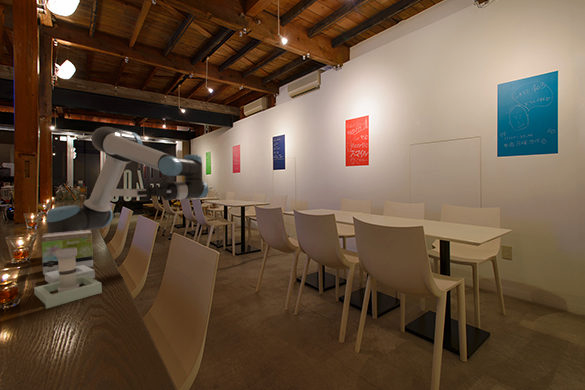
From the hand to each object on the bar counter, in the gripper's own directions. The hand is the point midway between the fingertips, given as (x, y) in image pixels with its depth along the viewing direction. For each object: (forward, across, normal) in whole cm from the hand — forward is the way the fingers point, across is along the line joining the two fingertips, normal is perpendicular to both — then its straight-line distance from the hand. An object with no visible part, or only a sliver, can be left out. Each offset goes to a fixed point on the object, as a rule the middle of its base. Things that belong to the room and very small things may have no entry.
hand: (118, 193), depth 100 cm
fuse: (+18, -7, -29) cm, 35 cm away
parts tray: (+18, -7, -30) cm, 35 cm away
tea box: (+10, +24, -30) cm, 40 cm away
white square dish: (+14, +7, -30) cm, 34 cm away
